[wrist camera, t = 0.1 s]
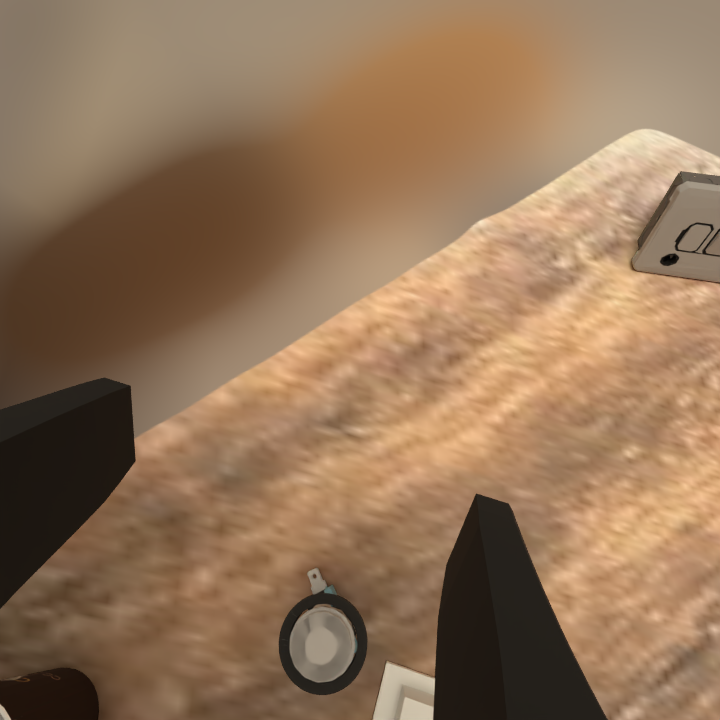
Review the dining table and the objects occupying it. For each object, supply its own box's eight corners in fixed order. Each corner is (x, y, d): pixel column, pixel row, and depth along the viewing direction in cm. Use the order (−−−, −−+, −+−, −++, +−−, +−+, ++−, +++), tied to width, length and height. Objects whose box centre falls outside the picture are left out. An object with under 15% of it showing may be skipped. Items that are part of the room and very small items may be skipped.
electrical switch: (628, 271, 47) (684, 202, 39) (625, 231, 49) (678, 157, 41) (728, 286, 46) (808, 218, 38) (721, 244, 48) (795, 171, 40)
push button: (284, 584, 38) (253, 599, 29) (344, 553, 39) (333, 557, 29) (318, 672, 36) (296, 719, 27) (381, 637, 37) (382, 671, 27)
